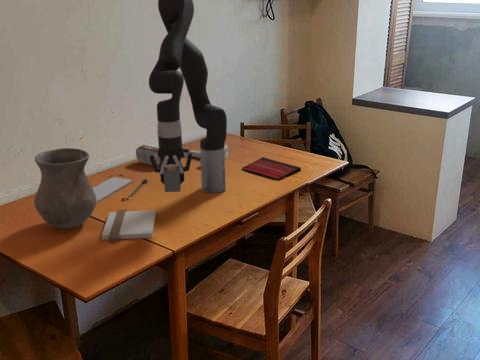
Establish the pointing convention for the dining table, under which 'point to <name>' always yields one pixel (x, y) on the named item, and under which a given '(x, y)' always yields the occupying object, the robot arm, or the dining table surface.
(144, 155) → the tin
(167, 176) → the block
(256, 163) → the binder
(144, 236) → the board
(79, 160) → the vase
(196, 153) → the claw hammer
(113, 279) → the dining table surface
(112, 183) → the baseboard molding
